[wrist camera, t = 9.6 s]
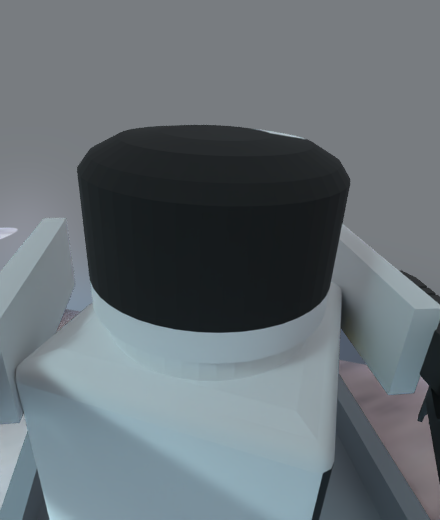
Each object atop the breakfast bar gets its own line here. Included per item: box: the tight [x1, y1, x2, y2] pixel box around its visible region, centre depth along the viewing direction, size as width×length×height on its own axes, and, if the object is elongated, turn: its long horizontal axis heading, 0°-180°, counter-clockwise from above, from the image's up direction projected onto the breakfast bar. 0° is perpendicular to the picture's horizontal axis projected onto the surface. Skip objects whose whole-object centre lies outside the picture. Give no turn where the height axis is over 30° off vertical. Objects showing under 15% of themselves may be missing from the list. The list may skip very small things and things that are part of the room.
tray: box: [0, 373, 430, 520], centre depth 26 cm, size 22×22×4 cm
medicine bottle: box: [15, 125, 350, 520], centre depth 11 cm, size 7×7×12 cm
